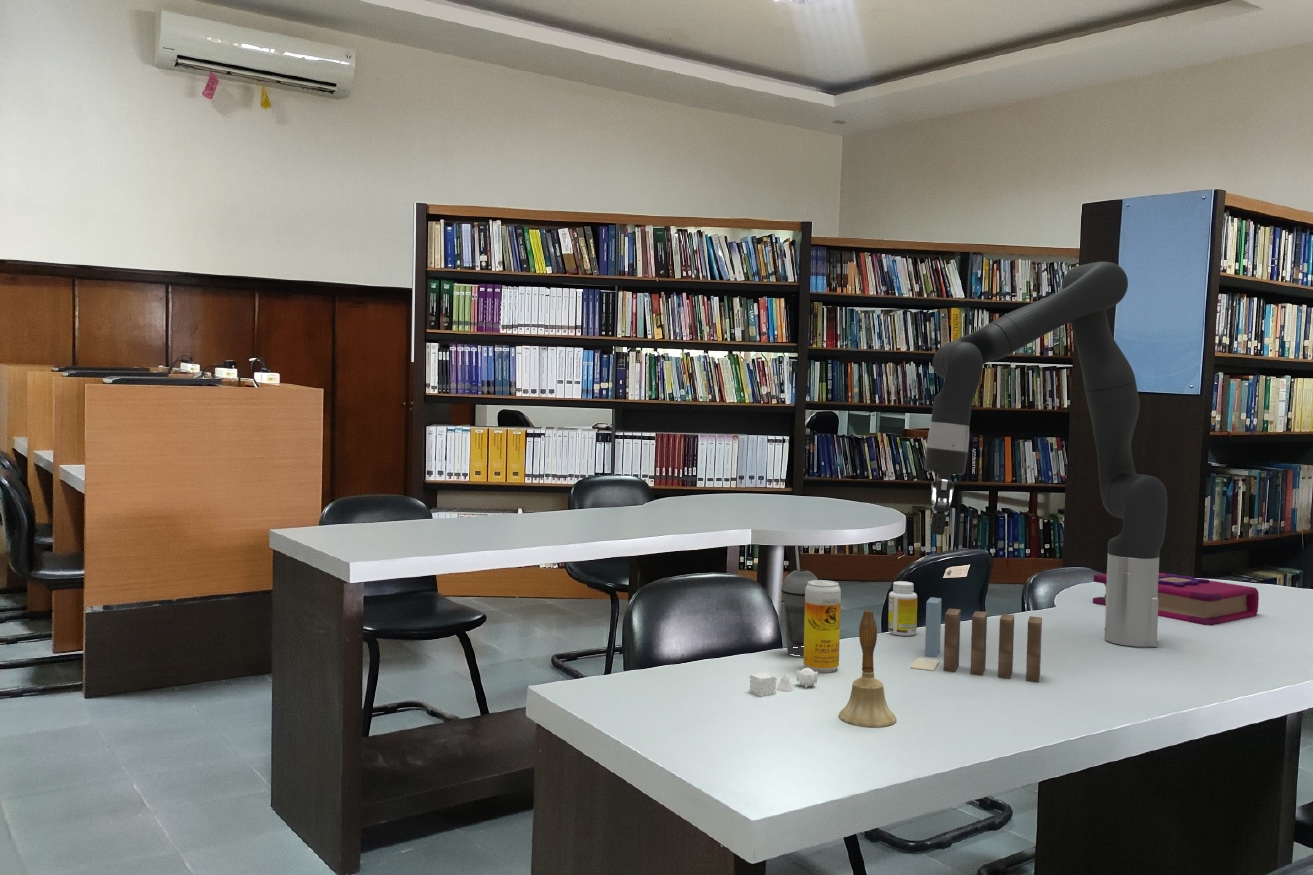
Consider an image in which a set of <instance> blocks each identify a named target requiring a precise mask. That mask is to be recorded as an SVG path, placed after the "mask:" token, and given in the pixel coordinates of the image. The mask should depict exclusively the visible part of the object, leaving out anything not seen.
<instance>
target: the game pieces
mask: <svg viewBox="0 0 1313 875" xmlns="http://www.w3.org/2000/svg"><path fill="white" fill-rule="evenodd" d="M795 674H796V675H795V677H796V682H797V683H799V686H800V687H802V686H803V687H804V688H805V689H808V688H810V687H812V688H814V687H815V684H817V683H818V681H819V680H818V679H819V678H818V677H819V672H814V671H813V670H812V669H810V668H806V667H804V668H802V669H801V670H798V669H797V670H796V671H795ZM748 677H749V679H750V680H749V693H751V694H754V695H755V696H756V695H757V696H758V697H762V698H763V697H766V696H774V695H776V694H777V691H778V692H782V693H790V692H794V691H795V689H794V687H793V686H794V685H793V684H792V683H791V681H790V677H789V675H787V674H786V672H785V673H784V674H783V675H782V676H781V679H780V681H779V683H778V685H777V686H776V684H777V682H776V681H777V680H778V679H777V677H776V675H773V674H770V673H768V672H766V671H762V672H759V673H751V674H750V676H748Z"/></svg>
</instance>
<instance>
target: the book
mask: <svg viewBox="0 0 1313 875" xmlns="http://www.w3.org/2000/svg"><path fill="white" fill-rule="evenodd" d="M1093 582H1094V583H1098V584H1099V583H1100V584H1104V586H1105V587H1106V586H1107V573H1103V574H1100V573H1098V574H1093ZM1259 596H1260V595H1259V591H1258V589H1257V587H1254V586H1253V587H1252V586H1246V585H1240V584H1239V585H1238V584H1233V583H1228V582H1221V581H1214V580H1209V579H1206V578H1195V577H1193V576H1187V575H1178V574H1174V573H1164V572H1159V576H1158V599H1159V601H1158V617H1161V618H1168V619H1172V620H1177V621H1183V622H1187V623H1190V624H1191V623H1192V624H1197V625H1201V626H1209V627H1210V626H1217V625H1220V624H1225V623H1229V622H1234V621H1235V622H1236V621H1239V620H1244V619H1249V618H1254V617H1256V616H1257V615H1258V613H1259V600H1260V598H1259ZM1092 604H1094V605H1099V606H1105V607H1106V593H1105V594H1104V596H1096V597H1093V598H1092Z"/></svg>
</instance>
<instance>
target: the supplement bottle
mask: <svg viewBox="0 0 1313 875" xmlns="http://www.w3.org/2000/svg"><path fill="white" fill-rule="evenodd" d="M892 585H893V586H892V591H889V593H888V617H887V618H888V620H887V621H888V624H887V625H888V626H887V627H888V628H887V630H888V632H889V633H890V634H891V635H893V636H902V637H910V636H915V635H916V634H917V629H918V628H917V627H918V626H917V624H918V620H917V619H918V594H917V593H916V592H914V590H915V588H914V583H913V582H909V581H904V580H903V581H901V580H899V581H894V582H893V583H892Z"/></svg>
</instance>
